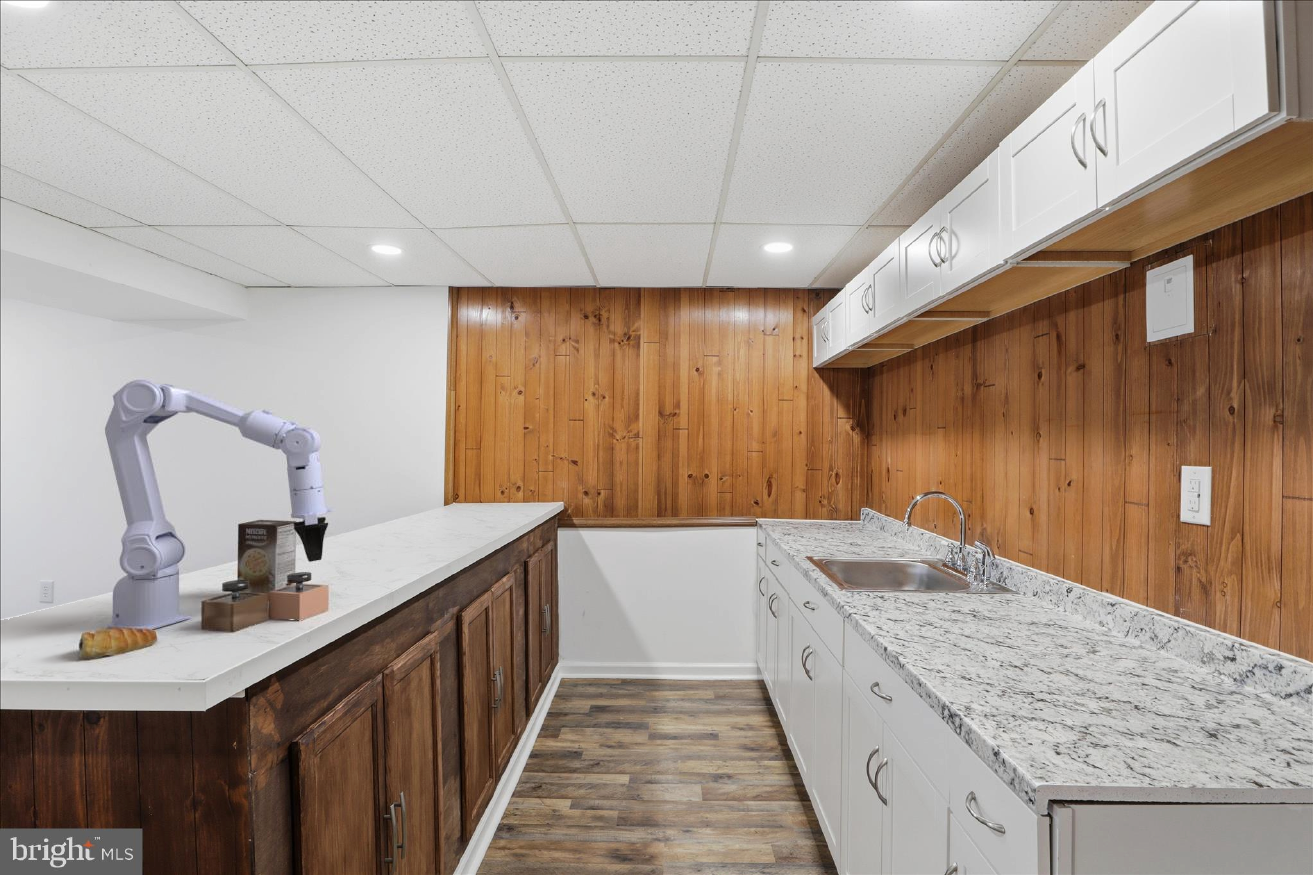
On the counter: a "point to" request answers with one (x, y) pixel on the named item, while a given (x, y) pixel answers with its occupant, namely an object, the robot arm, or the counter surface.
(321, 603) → the box
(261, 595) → the box
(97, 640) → the pastry
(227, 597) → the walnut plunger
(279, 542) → the coffee box
